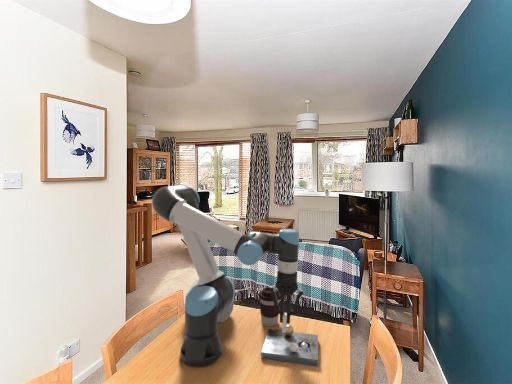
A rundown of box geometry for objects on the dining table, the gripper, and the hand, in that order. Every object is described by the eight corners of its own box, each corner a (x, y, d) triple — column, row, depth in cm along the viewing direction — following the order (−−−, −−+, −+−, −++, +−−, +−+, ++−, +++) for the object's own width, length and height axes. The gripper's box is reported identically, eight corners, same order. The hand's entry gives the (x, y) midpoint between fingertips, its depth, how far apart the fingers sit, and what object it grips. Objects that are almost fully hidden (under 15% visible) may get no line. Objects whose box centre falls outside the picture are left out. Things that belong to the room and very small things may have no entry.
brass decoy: (282, 336, 116) (282, 327, 116) (283, 331, 120) (284, 322, 120) (292, 338, 115) (293, 328, 115) (293, 332, 119) (293, 323, 119)
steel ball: (298, 351, 110) (301, 344, 110) (299, 346, 113) (301, 339, 113) (306, 355, 109) (309, 347, 109) (307, 350, 112) (309, 342, 112)
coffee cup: (279, 329, 126) (279, 295, 125) (256, 326, 128) (256, 293, 127) (281, 318, 136) (282, 286, 135) (260, 316, 138) (261, 284, 137)
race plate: (261, 358, 106) (261, 352, 106) (268, 334, 122) (268, 329, 122) (317, 366, 102) (317, 359, 102) (317, 341, 118) (317, 335, 118)
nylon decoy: (289, 353, 106) (289, 345, 105) (290, 348, 109) (290, 340, 108) (297, 354, 105) (298, 346, 105) (298, 349, 108) (298, 341, 108)
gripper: (268, 272, 109) (265, 333, 110) (304, 276, 106) (301, 338, 108) (271, 265, 116) (269, 323, 118) (305, 269, 113) (302, 328, 115)
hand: (284, 330), depth 113 cm, fingers closed
